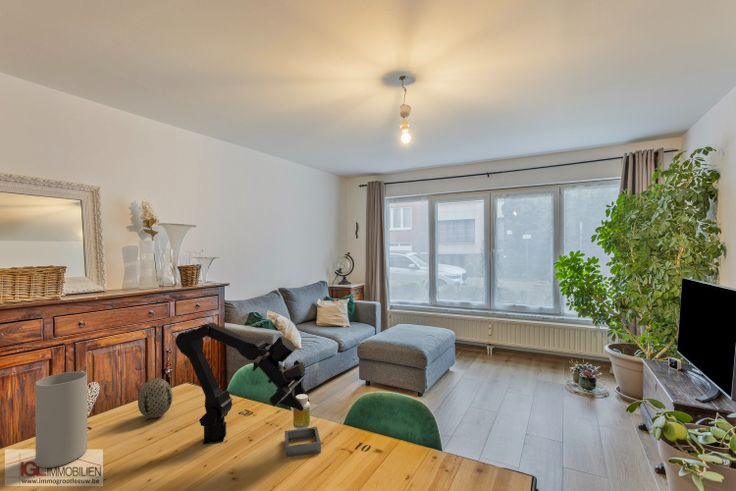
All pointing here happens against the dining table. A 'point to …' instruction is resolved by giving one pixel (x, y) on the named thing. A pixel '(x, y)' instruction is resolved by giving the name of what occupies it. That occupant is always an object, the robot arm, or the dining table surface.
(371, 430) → the dining table surface
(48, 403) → the cylinder vase
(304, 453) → the collar
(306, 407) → the supplement bottle
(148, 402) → the decorative egg
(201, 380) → the robot arm
